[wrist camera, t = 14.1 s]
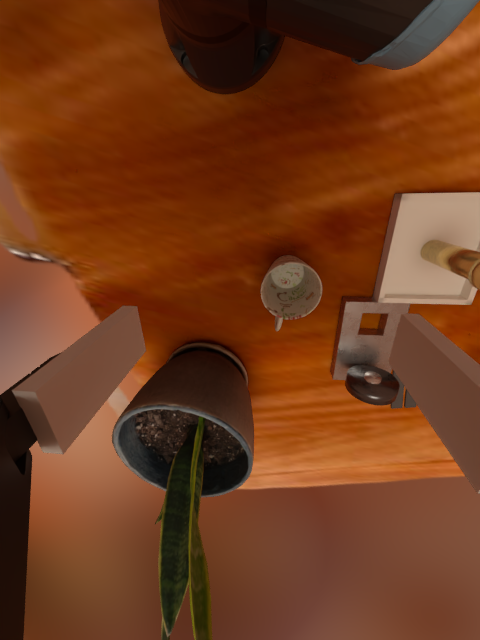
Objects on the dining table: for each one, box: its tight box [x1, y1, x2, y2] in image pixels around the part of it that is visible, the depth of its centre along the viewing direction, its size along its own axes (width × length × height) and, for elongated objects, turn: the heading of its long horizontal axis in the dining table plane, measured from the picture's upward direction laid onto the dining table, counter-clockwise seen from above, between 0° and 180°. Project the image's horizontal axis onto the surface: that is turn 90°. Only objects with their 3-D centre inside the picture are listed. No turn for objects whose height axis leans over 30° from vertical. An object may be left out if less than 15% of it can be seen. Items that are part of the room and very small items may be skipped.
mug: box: [261, 255, 322, 331], centre depth 41 cm, size 8×13×10 cm, turn 173°
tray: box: [373, 192, 480, 305], centre depth 40 cm, size 16×14×2 cm
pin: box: [420, 240, 480, 290], centre depth 35 cm, size 4×4×13 cm
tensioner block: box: [330, 296, 410, 405], centre depth 44 cm, size 16×10×11 cm, turn 1°
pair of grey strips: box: [391, 370, 416, 408], centre depth 51 cm, size 18×5×1 cm, turn 11°
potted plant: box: [112, 342, 254, 640], centre depth 39 cm, size 21×22×40 cm
